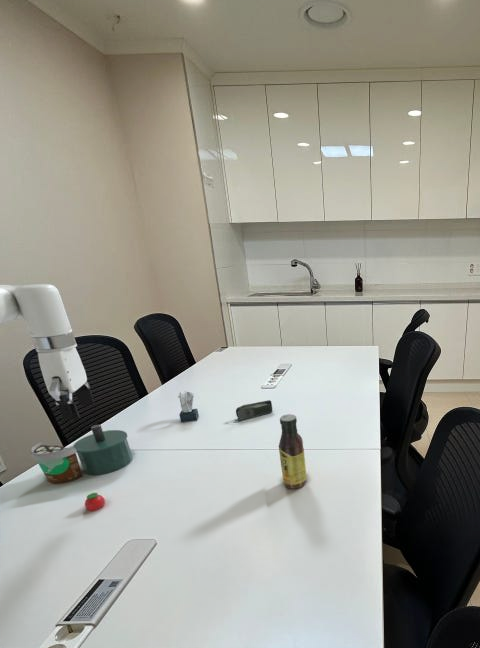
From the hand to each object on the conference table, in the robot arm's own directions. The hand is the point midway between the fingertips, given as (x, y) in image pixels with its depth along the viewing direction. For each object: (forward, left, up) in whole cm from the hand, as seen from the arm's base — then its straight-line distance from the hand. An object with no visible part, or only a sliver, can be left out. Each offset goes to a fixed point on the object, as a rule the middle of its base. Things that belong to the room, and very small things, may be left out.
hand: (79, 411), depth 94 cm
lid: (-4, +15, -15) cm, 22 cm away
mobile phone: (+39, +36, -23) cm, 58 cm away
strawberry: (0, -10, -23) cm, 25 cm away
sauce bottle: (+48, -15, -23) cm, 55 cm away
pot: (-4, +15, -23) cm, 28 cm away
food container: (-15, +10, -23) cm, 29 cm away
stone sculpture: (+16, +42, -23) cm, 51 cm away
